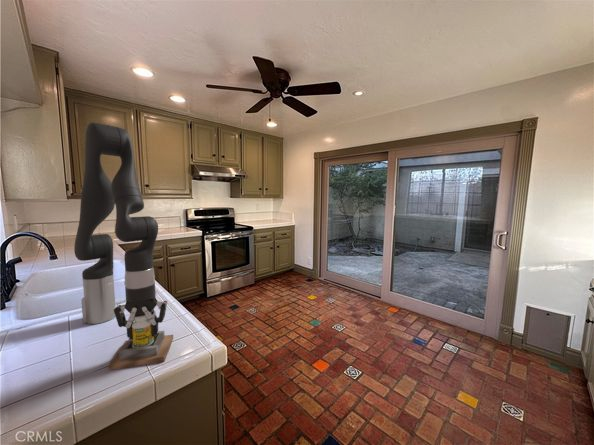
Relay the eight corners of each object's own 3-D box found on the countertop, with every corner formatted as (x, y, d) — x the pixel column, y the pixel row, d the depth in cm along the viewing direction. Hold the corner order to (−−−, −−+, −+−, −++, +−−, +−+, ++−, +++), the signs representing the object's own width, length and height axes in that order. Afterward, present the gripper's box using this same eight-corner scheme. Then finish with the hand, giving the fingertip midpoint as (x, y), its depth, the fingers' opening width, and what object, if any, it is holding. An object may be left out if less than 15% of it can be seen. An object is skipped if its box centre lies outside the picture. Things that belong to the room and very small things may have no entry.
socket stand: (108, 370, 67) (107, 356, 67) (125, 344, 79) (125, 333, 78) (164, 361, 71) (163, 348, 71) (173, 338, 83) (172, 327, 82)
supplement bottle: (153, 337, 78) (151, 308, 77) (154, 345, 74) (152, 315, 73) (133, 342, 75) (131, 312, 74) (133, 351, 71) (131, 320, 70)
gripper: (169, 277, 78) (171, 327, 80) (117, 280, 74) (121, 333, 76) (163, 285, 71) (166, 340, 73) (106, 289, 67) (110, 347, 69)
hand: (143, 336), depth 75 cm, fingers closed on supplement bottle, 5 cm apart
